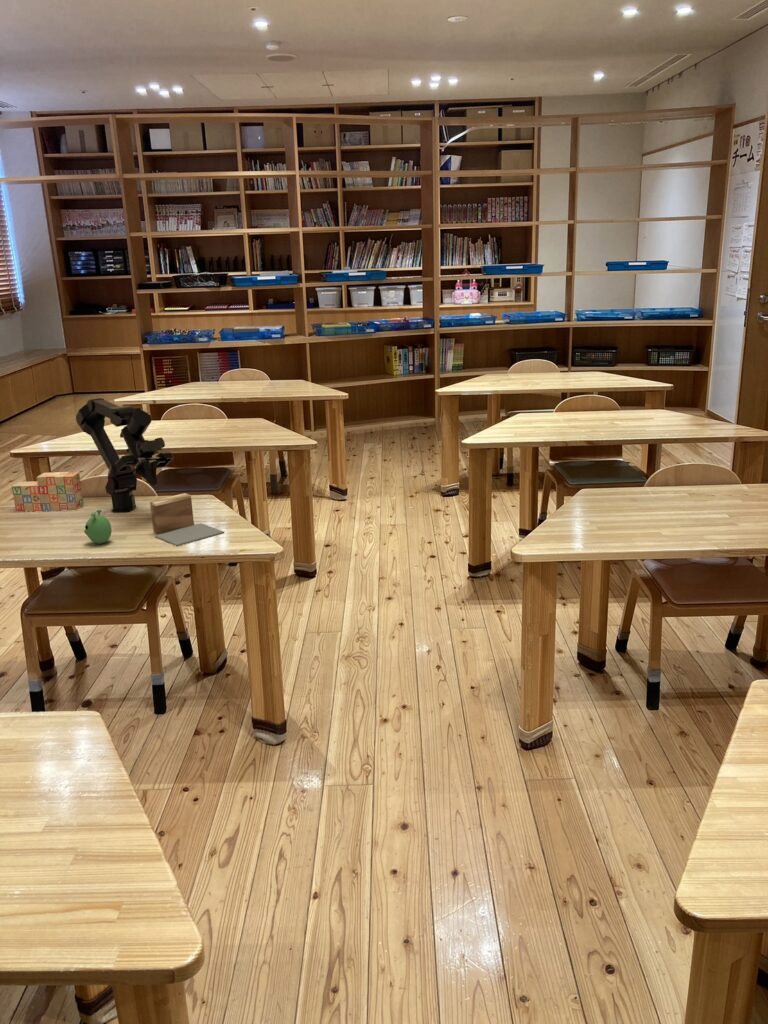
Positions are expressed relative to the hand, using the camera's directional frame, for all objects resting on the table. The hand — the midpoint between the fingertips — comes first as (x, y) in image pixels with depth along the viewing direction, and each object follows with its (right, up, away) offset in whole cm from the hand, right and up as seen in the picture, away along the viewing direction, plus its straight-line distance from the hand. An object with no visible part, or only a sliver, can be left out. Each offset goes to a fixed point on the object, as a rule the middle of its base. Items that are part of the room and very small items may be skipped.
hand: (155, 485), depth 253 cm
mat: (+13, -15, -9) cm, 22 cm away
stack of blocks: (-43, -8, +24) cm, 50 cm away
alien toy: (-13, -18, -14) cm, 26 cm away
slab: (+7, -14, -3) cm, 16 cm away
